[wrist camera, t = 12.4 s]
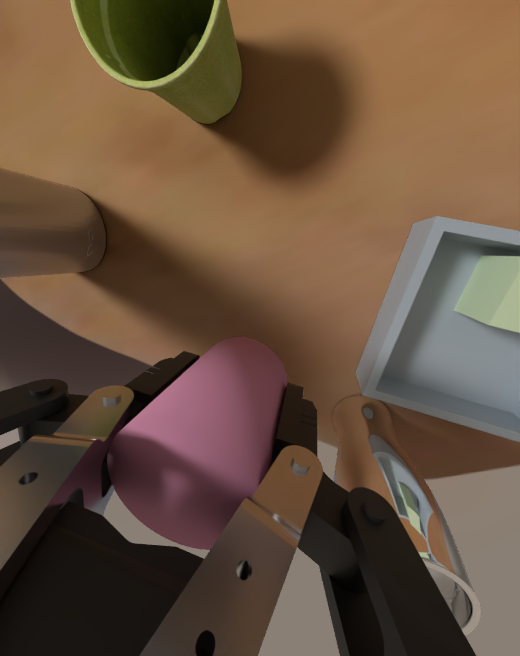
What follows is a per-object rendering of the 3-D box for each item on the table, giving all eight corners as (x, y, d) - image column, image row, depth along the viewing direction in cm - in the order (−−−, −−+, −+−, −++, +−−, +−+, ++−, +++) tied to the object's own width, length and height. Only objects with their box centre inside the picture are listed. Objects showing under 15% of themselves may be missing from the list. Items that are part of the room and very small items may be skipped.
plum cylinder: (197, 401, 13) (108, 513, 7) (207, 326, 12) (106, 395, 6) (275, 427, 12) (242, 571, 7) (297, 351, 11) (278, 455, 5)
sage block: (481, 255, 19) (528, 256, 15) (546, 269, 18) (614, 274, 14) (453, 310, 21) (488, 325, 16) (512, 324, 20) (565, 344, 16)
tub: (355, 372, 25) (362, 395, 21) (413, 223, 20) (436, 216, 16) (510, 417, 23) (551, 451, 19) (618, 261, 18) (703, 264, 14)
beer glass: (339, 449, 28) (359, 640, 14) (319, 399, 27) (319, 555, 13) (403, 439, 26) (500, 652, 12) (384, 384, 25) (468, 552, 11)
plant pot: (280, 23, 19) (249, -153, 10) (242, 161, 22) (197, 107, 14) (173, -7, 19) (69, -190, 11) (152, 129, 23) (61, 62, 15)
